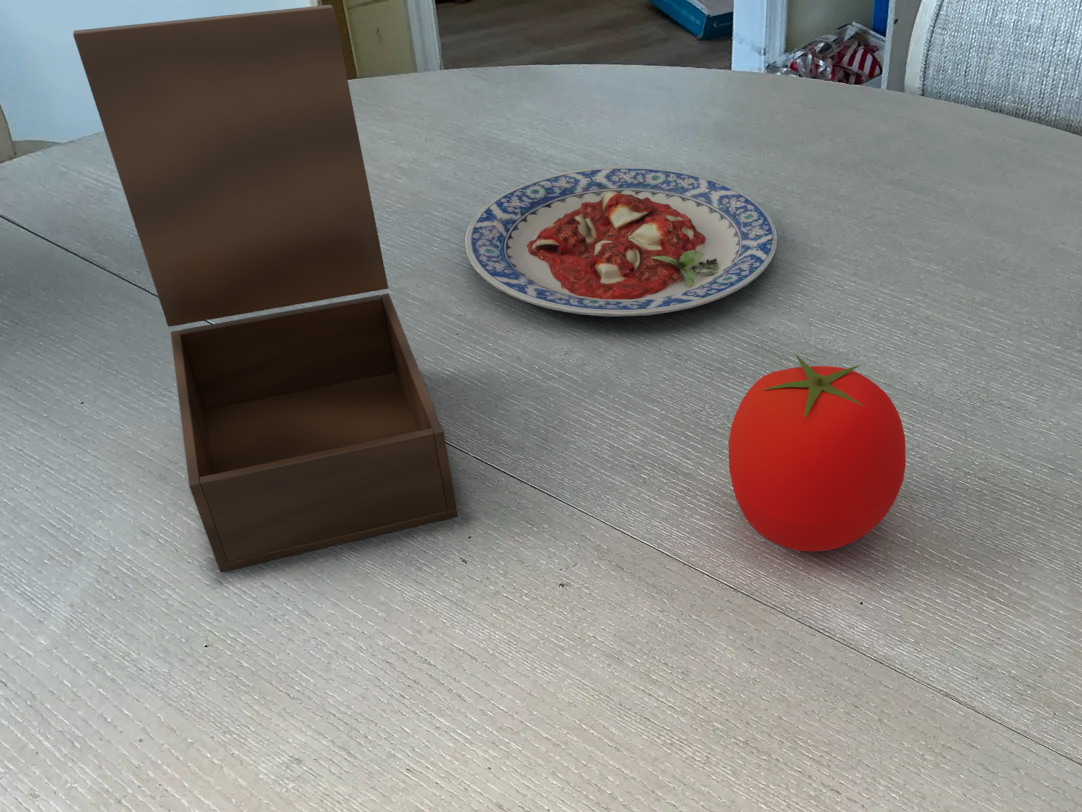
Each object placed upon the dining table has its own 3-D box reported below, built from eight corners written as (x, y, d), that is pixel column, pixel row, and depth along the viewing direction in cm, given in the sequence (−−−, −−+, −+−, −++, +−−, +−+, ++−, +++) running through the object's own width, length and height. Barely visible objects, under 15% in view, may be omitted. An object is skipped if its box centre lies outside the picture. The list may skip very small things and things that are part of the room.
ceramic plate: (409, 246, 100) (403, 213, 98) (646, 165, 113) (645, 134, 111) (592, 377, 86) (590, 341, 84) (839, 267, 99) (842, 234, 97)
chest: (458, 516, 74) (443, 431, 69) (220, 572, 69) (188, 485, 65) (403, 373, 85) (388, 292, 81) (197, 413, 81) (169, 331, 77)
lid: (333, 7, 70) (331, 4, 70) (72, 33, 65) (72, 30, 66) (388, 289, 80) (386, 284, 81) (168, 327, 76) (167, 322, 77)
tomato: (917, 570, 71) (943, 424, 64) (746, 592, 69) (753, 444, 62) (866, 464, 78) (884, 323, 71) (711, 481, 77) (714, 339, 70)
